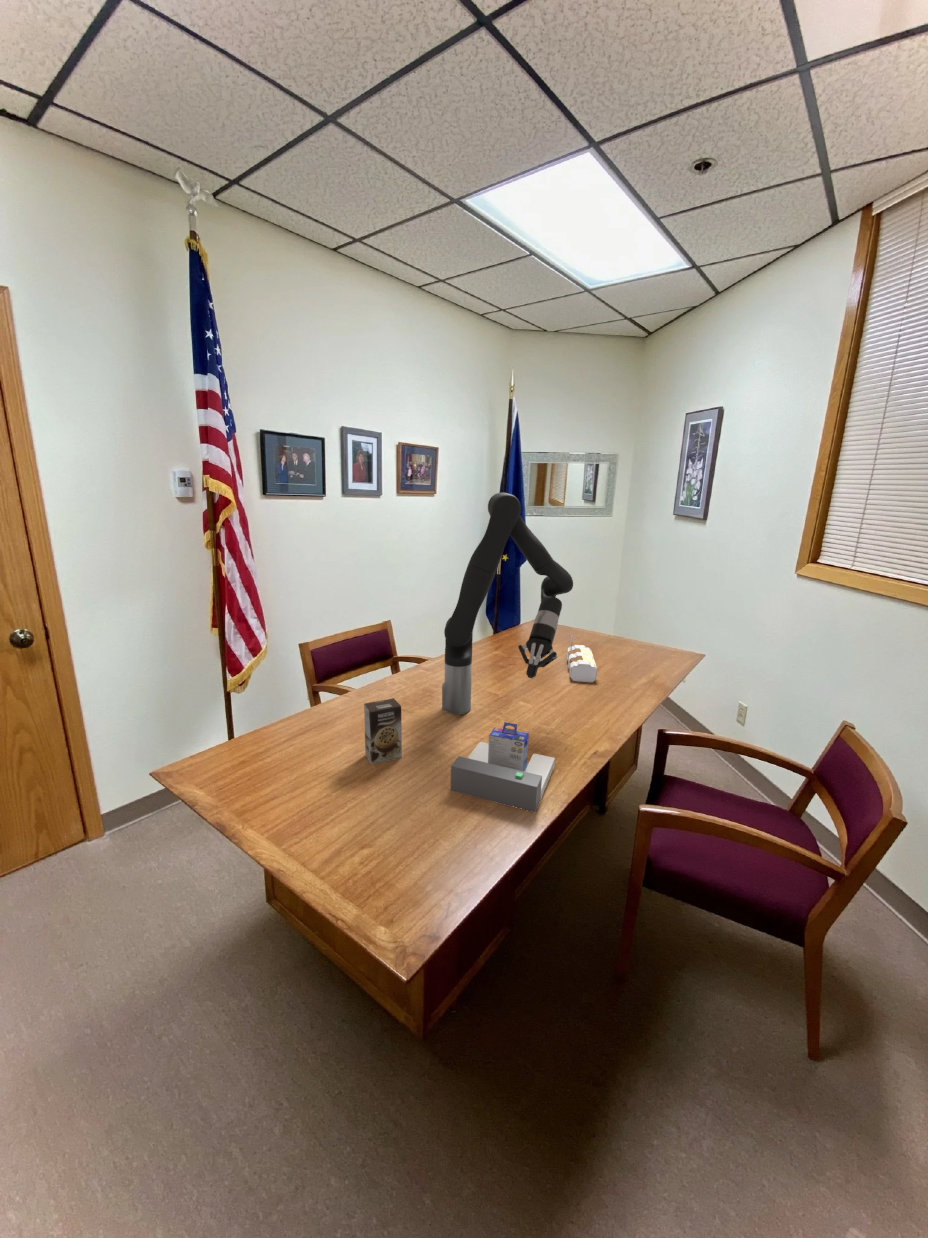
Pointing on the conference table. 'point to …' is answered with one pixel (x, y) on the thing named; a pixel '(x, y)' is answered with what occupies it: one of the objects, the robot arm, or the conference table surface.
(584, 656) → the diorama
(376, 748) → the dessert mix box
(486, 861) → the conference table surface
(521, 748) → the ink cartridge box
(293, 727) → the conference table surface
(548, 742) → the conference table surface
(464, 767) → the charging dock
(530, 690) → the conference table surface
